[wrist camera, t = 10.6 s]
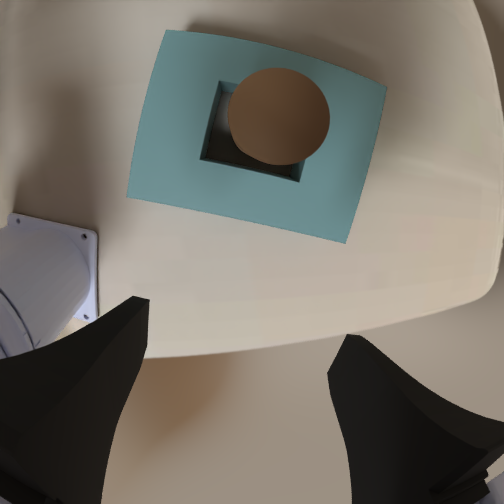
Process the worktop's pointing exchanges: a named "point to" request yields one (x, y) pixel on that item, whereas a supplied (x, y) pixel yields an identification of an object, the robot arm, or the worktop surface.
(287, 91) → the walnut peg
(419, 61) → the worktop surface
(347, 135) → the hole block
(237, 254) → the worktop surface
